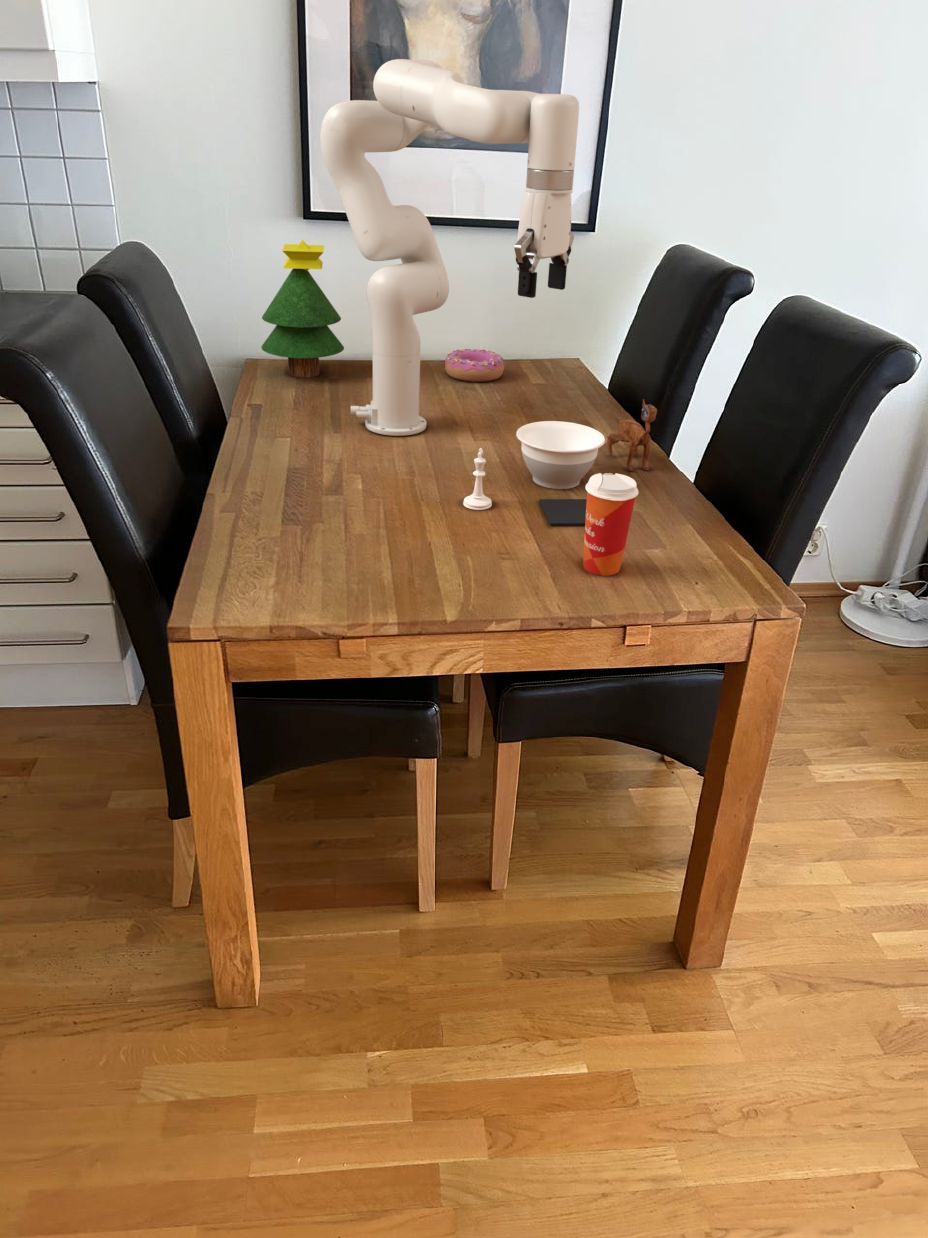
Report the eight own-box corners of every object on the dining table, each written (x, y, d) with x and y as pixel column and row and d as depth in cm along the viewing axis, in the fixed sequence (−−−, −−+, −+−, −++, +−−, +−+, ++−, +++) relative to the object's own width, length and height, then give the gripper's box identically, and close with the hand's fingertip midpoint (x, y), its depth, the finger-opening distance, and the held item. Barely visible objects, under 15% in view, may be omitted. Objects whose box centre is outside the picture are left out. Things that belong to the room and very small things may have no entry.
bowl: (576, 504, 162) (581, 457, 158) (497, 482, 169) (500, 437, 165) (613, 477, 174) (619, 433, 170) (538, 457, 181) (542, 414, 177)
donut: (503, 385, 222) (505, 364, 220) (443, 382, 222) (444, 361, 219) (502, 368, 235) (503, 348, 232) (445, 365, 234) (446, 345, 232)
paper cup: (571, 555, 145) (581, 470, 138) (620, 555, 146) (632, 471, 139) (581, 579, 138) (592, 491, 131) (632, 579, 139) (645, 492, 132)
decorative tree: (266, 361, 230) (258, 231, 215) (344, 362, 233) (342, 233, 217) (260, 384, 214) (250, 245, 199) (344, 385, 216) (341, 247, 201)
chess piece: (495, 501, 162) (499, 446, 157) (486, 512, 158) (490, 455, 153) (468, 496, 163) (471, 441, 158) (459, 507, 159) (461, 451, 154)
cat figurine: (592, 443, 190) (600, 376, 183) (622, 441, 191) (631, 375, 185) (628, 476, 175) (638, 404, 168) (660, 474, 177) (672, 403, 170)
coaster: (550, 526, 154) (550, 523, 154) (539, 501, 163) (539, 499, 163) (609, 525, 155) (609, 522, 155) (595, 501, 164) (595, 498, 164)
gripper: (556, 176, 158) (548, 282, 167) (500, 182, 146) (495, 296, 154) (595, 180, 155) (585, 288, 163) (541, 186, 142) (533, 303, 151)
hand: (541, 292), depth 159 cm, fingers open, 9 cm apart
